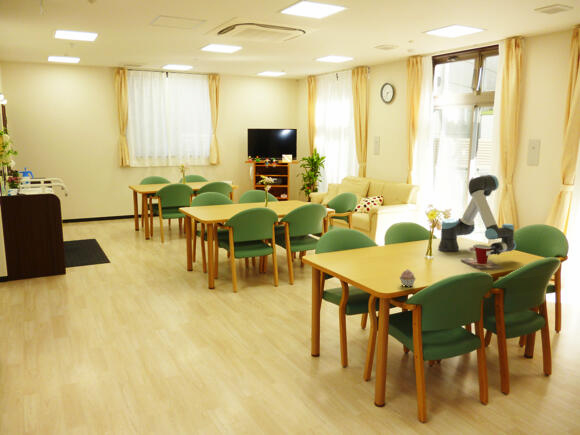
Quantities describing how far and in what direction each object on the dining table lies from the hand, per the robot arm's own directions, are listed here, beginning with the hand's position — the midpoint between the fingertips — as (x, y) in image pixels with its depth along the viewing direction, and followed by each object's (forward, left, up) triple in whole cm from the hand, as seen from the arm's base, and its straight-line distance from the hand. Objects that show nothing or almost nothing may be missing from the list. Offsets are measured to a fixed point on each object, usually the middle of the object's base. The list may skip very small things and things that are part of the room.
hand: (477, 251), depth 308 cm
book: (-2, +4, -10) cm, 11 cm away
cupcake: (+31, -64, -10) cm, 72 cm away
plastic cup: (0, +4, -8) cm, 9 cm away
